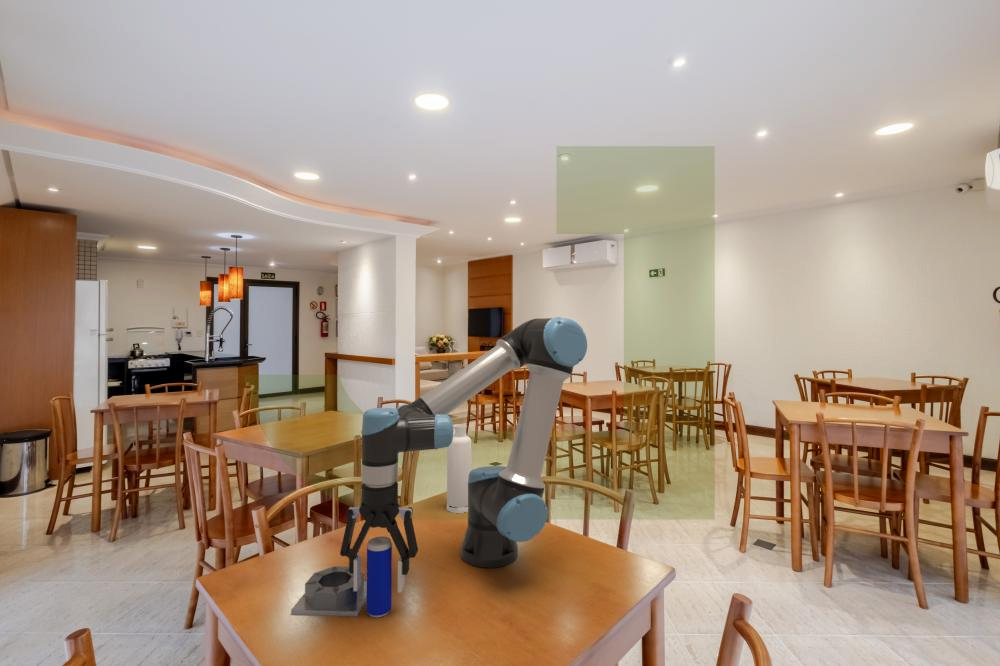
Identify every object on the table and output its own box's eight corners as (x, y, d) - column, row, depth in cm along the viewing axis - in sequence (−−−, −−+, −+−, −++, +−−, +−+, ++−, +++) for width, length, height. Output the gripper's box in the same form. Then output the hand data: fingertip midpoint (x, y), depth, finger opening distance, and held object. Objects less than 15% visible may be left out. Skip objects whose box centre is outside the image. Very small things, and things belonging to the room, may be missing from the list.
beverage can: (396, 611, 102) (396, 540, 102) (375, 621, 98) (375, 548, 98) (382, 601, 105) (383, 533, 105) (361, 611, 101) (362, 541, 101)
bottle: (473, 512, 157) (474, 427, 157) (449, 514, 155) (449, 428, 155) (468, 503, 165) (468, 422, 165) (444, 505, 163) (445, 423, 163)
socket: (374, 585, 112) (374, 566, 112) (357, 616, 100) (357, 594, 100) (315, 584, 112) (315, 565, 112) (291, 614, 100) (291, 593, 100)
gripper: (433, 477, 105) (432, 580, 105) (336, 475, 105) (335, 578, 106) (426, 489, 97) (425, 599, 97) (322, 486, 98) (322, 596, 98)
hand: (379, 588), depth 101 cm, fingers open, 9 cm apart
